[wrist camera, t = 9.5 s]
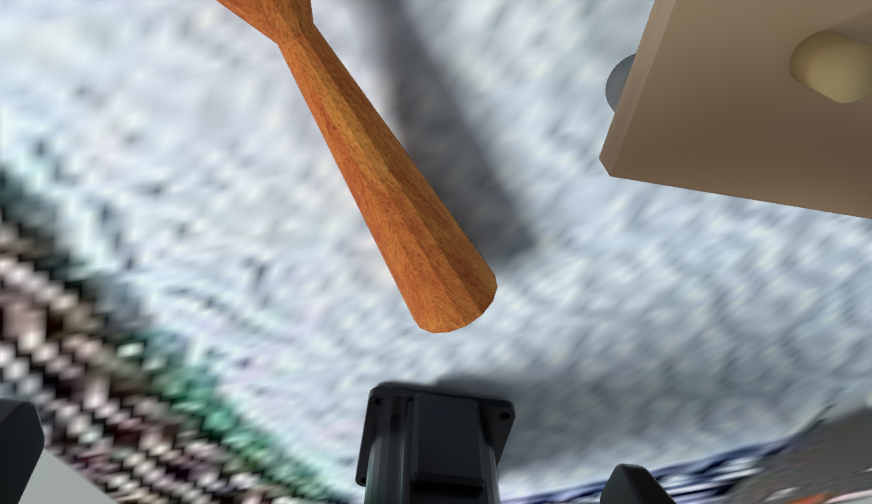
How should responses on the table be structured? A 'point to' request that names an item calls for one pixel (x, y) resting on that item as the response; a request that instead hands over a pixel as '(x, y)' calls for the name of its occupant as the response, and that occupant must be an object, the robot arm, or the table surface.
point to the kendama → (380, 176)
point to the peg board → (749, 102)
